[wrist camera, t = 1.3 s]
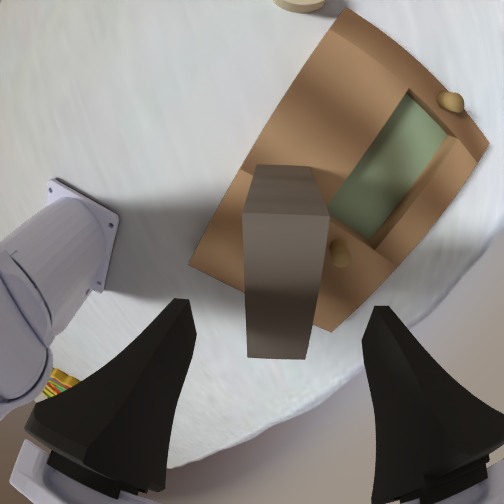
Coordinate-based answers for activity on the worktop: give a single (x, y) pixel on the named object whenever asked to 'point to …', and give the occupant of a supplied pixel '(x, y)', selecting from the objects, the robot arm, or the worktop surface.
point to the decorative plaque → (58, 383)
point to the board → (356, 162)
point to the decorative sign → (300, 5)
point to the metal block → (282, 259)
